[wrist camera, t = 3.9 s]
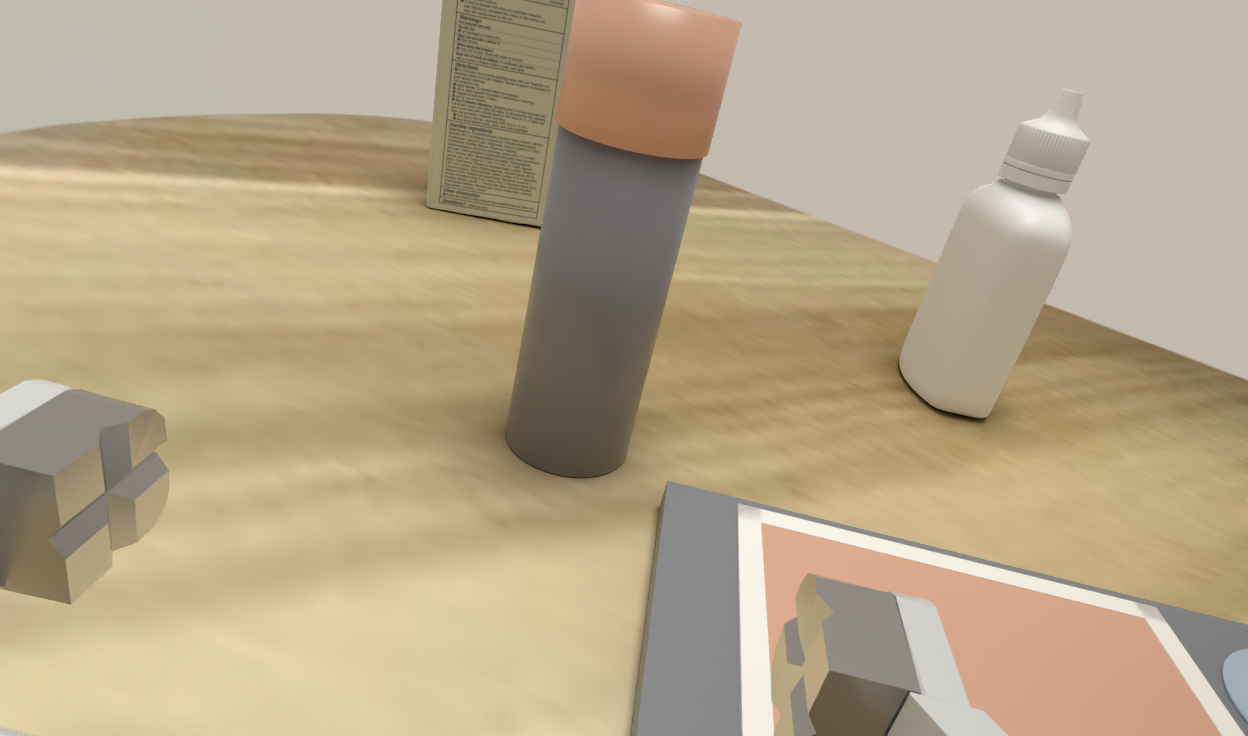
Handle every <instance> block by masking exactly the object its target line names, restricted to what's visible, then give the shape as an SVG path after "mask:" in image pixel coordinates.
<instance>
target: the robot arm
mask: <svg viewBox="0 0 1248 736" xmlns="http://www.w3.org/2000/svg"><path fill="white" fill-rule="evenodd" d="M166 441H167V437H166V427H165V418H164V417H163V416H162V415H161V414H160V413H158V412H157V411H156V410H154V409H151V408H147V407H143V406H140V405H136V404H132V403H129V402H125V401H121V400H118V399H114V398H110V397H107V396H103V395H99V394H96V393H92V392H88V391H85V390H81V389H78V390H77V389H75V388H72V387H69V386H65V385H61V384H57V383H53V382H49V381H45V380H25V381H24V382H22V383H20V384H18V385H16V386H15V387H13V388H11V389H9V390H7V391H5V392H4V393H2V394H0V589H3V590H7V591H12V592H16V593H21V594H25V595H30V596H34V597H39V598H44V599H48V600H53V601H57V602H62V603H66V604H72V603H73V602H75V601H76V600H77V599H78V598H79V597H80V596H81V595H82V594H83V593H84V592H85V591H86V590H87V589H88V588H89V587H91V586H92V585H93V584H94V583H95V582H96V581H97V580H98V579H99V578H100V577H101V576H102V575H103V574H104V573H106V572H107V571H108V570H109V569H110V568H111V567H112V552H113V551H114V550H117V549H120V548H122V547H125V546H128V545H131V544H134V543H137V542H138V541H139V540H140V539H141V538H142V537H143V536H144V535H145V534H146V533H147V532H148V531H149V530H150V529H151V528H153V527H154V525H155V523H156V521H157V519H158V518H159V516H160V514H161V512H162V510H163V508H164V507H165V505H166V500H167V495H168V491H169V470H168V469H167V467H166V466H165V464H164V463H163V462H162V460H161V459H160V457H159V456H158V455H157V453H156V451H157V450H158V449H159V448H160V447H161V446H162V445H163V444H164V443H165V442H166ZM795 601H796V610H797V617H795V618H793V619H792V620H790V621H788V622H786V623H785V624H784V625H783V628H782V631H781V633H780V636H779V639H778V641H777V644H776V649H775V653H774V658H773V663H772V671H771V700H772V702H773V704H774V705H775V706H776V708H777V709H778V710H779V712H780V713H781V716H780V718H779V721H778V723H777V725H776V728H775V730H774V736H1008V735H1007V734H1006V733H1005V732H1004V731H1003V730H1002V729H1001V728H1000V727H999V726H998V725H997V724H996V723H995V722H994V721H993V720H992V719H991V718H990V717H989V716H988V715H987V714H986V712H985V711H983V710H979V709H975V708H971V706H970V703H969V700H968V697H967V694H966V691H965V689H964V686H963V683H962V680H961V677H960V674H959V671H958V669H957V666H956V663H955V660H954V657H953V654H952V651H951V648H950V646H949V643H948V640H947V637H946V634H945V631H944V628H943V625H942V623H941V620H940V617H939V614H938V611H937V608H936V606H935V605H934V604H933V603H932V602H931V601H930V600H927V599H923V598H918V597H914V596H909V595H905V594H900V593H895V592H891V591H889V592H885V591H881V590H877V589H873V588H868V587H864V586H860V585H856V584H852V583H848V582H844V581H840V580H836V579H832V578H827V577H823V576H819V575H815V574H811V573H808V574H807V575H806V577H805V578H804V579H803V581H802V582H801V585H800V587H799V589H798V592H797V594H796V596H795ZM0 736H36V735H32V734H28V733H24V732H20V731H16V730H12V729H8V728H4V727H1V726H0Z"/></svg>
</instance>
